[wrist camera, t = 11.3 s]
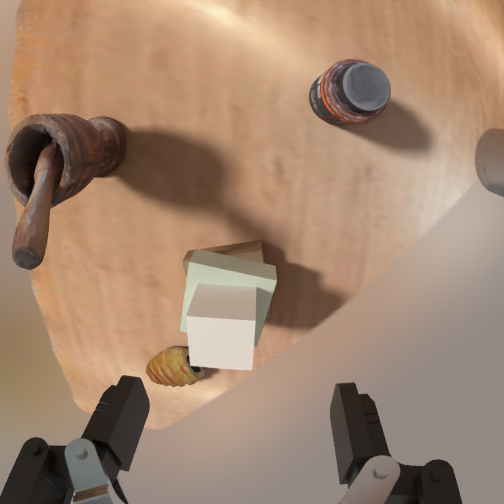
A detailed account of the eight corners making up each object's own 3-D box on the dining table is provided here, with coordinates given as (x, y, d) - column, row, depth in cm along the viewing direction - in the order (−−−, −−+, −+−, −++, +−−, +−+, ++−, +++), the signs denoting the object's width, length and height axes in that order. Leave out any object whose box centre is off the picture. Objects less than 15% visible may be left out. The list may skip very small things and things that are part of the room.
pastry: (163, 383, 47) (158, 399, 44) (138, 355, 45) (131, 371, 41) (209, 369, 45) (206, 386, 42) (185, 338, 43) (179, 355, 40)
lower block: (261, 239, 37) (261, 250, 34) (271, 302, 40) (272, 318, 37) (188, 249, 38) (182, 261, 35) (204, 310, 41) (200, 325, 38)
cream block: (256, 286, 32) (255, 320, 26) (252, 333, 34) (252, 370, 28) (197, 283, 32) (186, 315, 26) (199, 329, 34) (190, 365, 28)
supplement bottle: (369, 110, 30) (415, 106, 20) (326, 134, 32) (357, 138, 21) (341, 65, 28) (377, 41, 18) (297, 88, 30) (315, 70, 19)
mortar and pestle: (164, 154, 33) (64, 193, 14) (124, 210, 36) (24, 291, 17) (96, 100, 30) (-30, 99, 12) (62, 157, 33) (-57, 197, 14)
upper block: (275, 265, 34) (277, 280, 31) (256, 329, 38) (256, 347, 35) (195, 248, 34) (189, 261, 31) (185, 314, 37) (179, 331, 34)
